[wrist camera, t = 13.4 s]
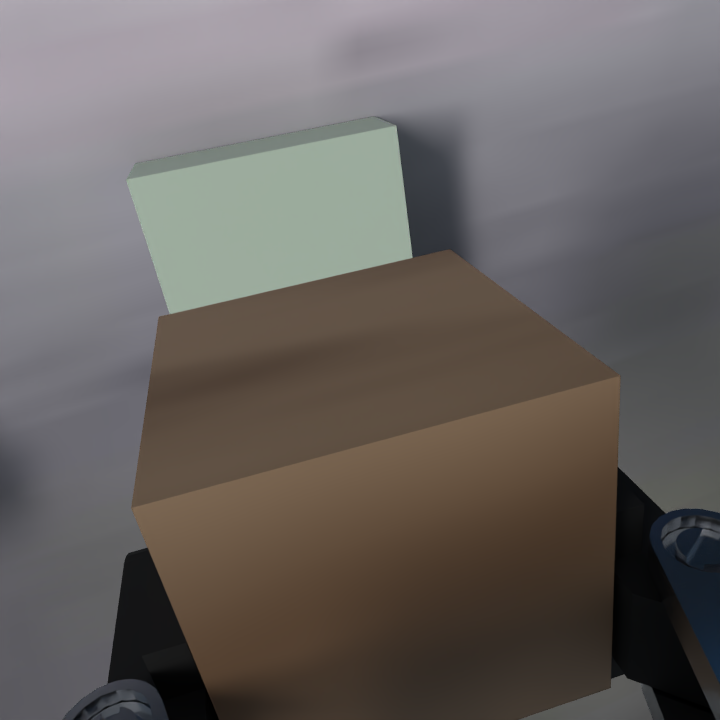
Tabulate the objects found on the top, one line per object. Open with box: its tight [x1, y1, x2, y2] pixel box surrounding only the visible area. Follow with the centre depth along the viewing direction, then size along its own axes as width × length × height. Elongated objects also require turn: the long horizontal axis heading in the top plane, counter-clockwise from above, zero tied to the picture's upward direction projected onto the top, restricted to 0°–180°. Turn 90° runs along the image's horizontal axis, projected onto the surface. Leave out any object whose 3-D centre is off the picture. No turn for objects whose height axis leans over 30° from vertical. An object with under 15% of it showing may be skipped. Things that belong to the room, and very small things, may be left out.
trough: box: [126, 117, 413, 314], centre depth 27 cm, size 26×9×4 cm, turn 9°
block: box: [131, 249, 620, 720], centre depth 10 cm, size 5×5×5 cm
